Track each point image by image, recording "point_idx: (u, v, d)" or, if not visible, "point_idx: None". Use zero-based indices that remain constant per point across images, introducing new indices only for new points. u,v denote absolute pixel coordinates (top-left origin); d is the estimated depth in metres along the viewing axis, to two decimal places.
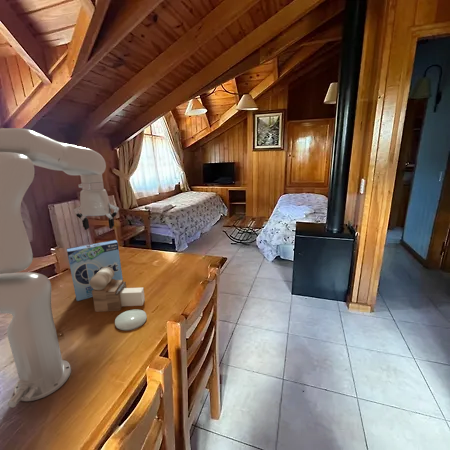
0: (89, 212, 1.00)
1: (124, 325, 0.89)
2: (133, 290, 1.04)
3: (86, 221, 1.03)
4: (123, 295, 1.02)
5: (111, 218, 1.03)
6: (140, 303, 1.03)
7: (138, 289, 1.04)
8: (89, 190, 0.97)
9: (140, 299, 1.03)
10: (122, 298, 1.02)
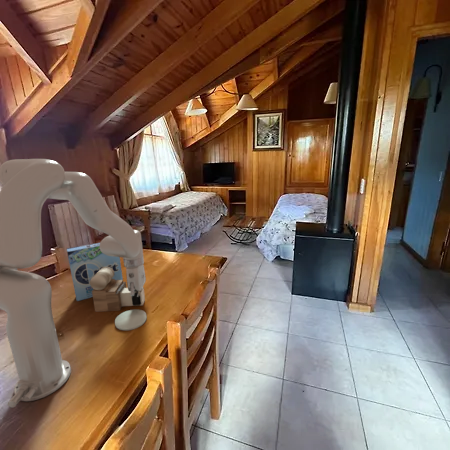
0: (142, 285, 1.02)
1: (124, 325, 0.89)
2: None
3: None
4: (123, 295, 1.02)
5: None
6: None
7: None
8: (143, 263, 1.01)
9: None
10: (122, 298, 1.02)
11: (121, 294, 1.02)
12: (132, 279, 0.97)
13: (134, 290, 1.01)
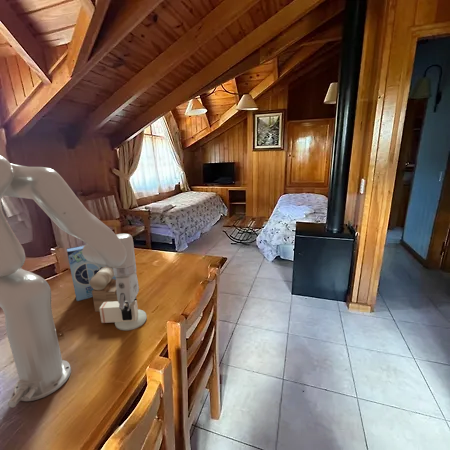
0: (134, 296, 0.89)
1: (124, 325, 0.89)
2: (125, 304, 0.92)
3: None
4: (114, 310, 0.90)
5: None
6: (133, 318, 0.92)
7: None
8: (135, 271, 0.89)
9: (133, 314, 0.91)
10: (112, 313, 0.90)
11: (111, 309, 0.90)
12: (122, 290, 0.85)
13: (124, 302, 0.88)
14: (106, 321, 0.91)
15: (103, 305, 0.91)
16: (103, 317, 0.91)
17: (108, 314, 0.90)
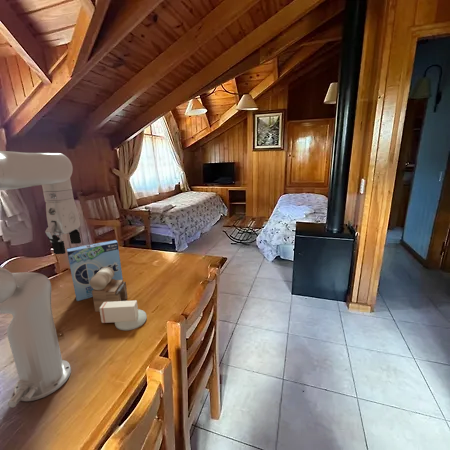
0: (70, 228, 0.79)
1: (124, 325, 0.89)
2: (125, 304, 0.92)
3: None
4: (114, 310, 0.90)
5: None
6: (133, 318, 0.92)
7: (131, 302, 0.93)
8: (71, 198, 0.78)
9: (133, 314, 0.91)
10: (112, 313, 0.90)
11: (111, 309, 0.90)
12: (53, 217, 0.75)
13: (56, 232, 0.76)
14: (106, 321, 0.91)
15: (103, 305, 0.91)
16: (103, 317, 0.91)
17: (108, 314, 0.90)
